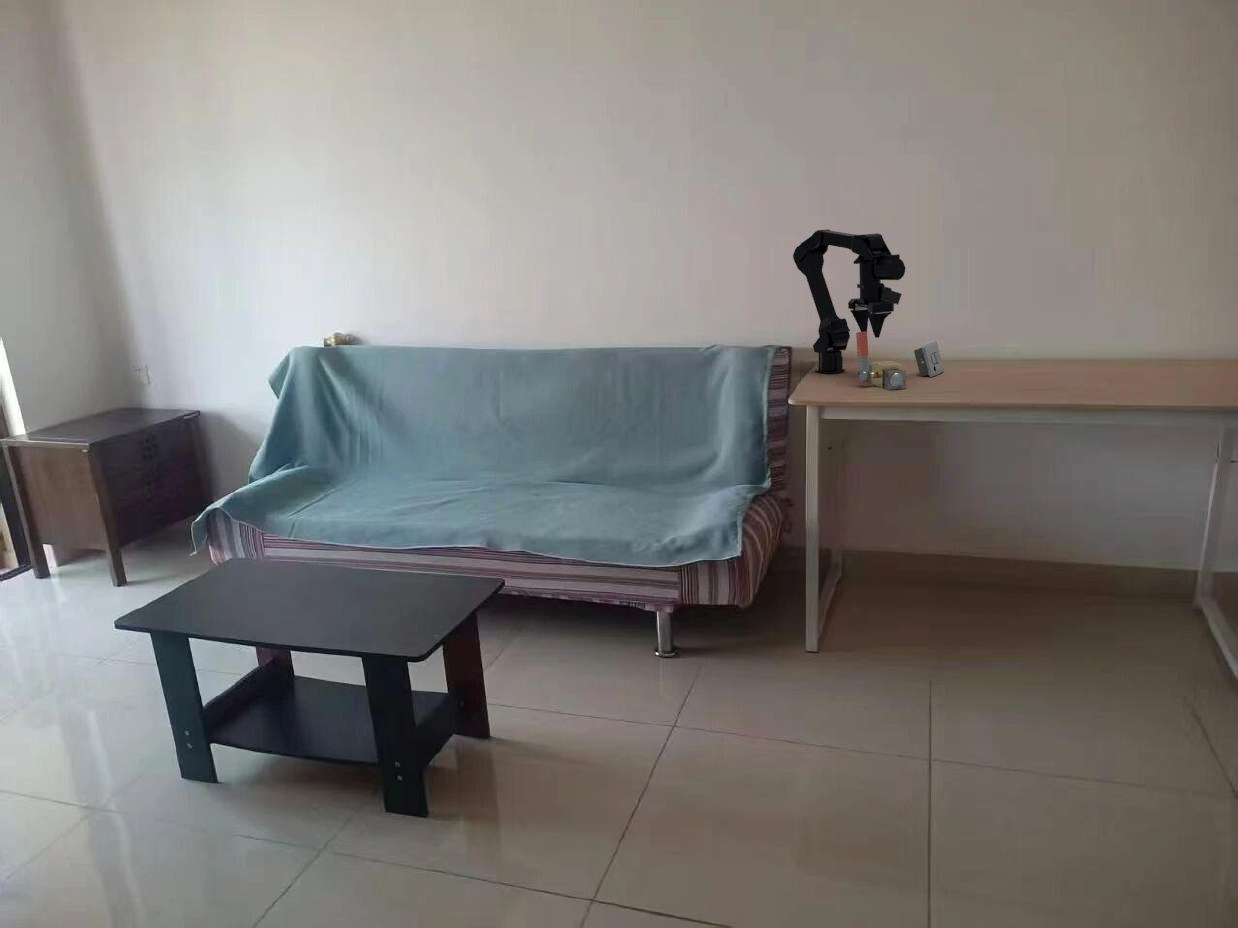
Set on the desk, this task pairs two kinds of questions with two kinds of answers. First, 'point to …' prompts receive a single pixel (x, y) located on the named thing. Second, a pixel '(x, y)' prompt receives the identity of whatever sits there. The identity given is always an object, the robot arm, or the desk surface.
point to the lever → (862, 356)
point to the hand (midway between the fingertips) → (870, 336)
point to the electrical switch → (929, 359)
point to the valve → (887, 375)
